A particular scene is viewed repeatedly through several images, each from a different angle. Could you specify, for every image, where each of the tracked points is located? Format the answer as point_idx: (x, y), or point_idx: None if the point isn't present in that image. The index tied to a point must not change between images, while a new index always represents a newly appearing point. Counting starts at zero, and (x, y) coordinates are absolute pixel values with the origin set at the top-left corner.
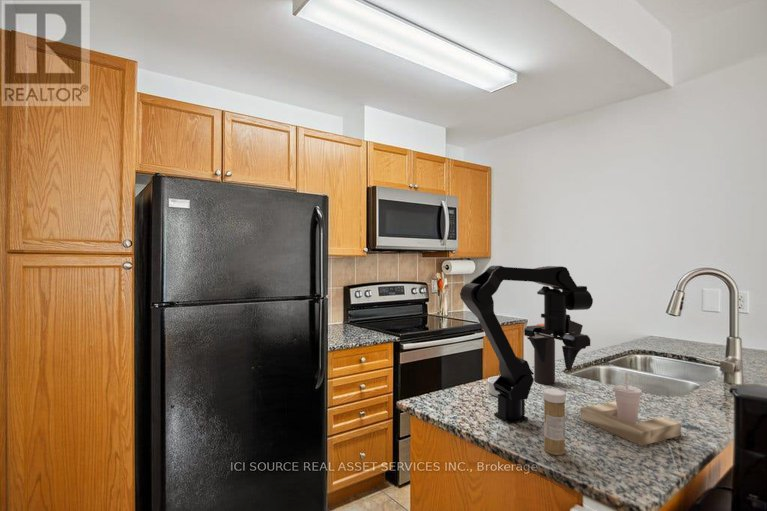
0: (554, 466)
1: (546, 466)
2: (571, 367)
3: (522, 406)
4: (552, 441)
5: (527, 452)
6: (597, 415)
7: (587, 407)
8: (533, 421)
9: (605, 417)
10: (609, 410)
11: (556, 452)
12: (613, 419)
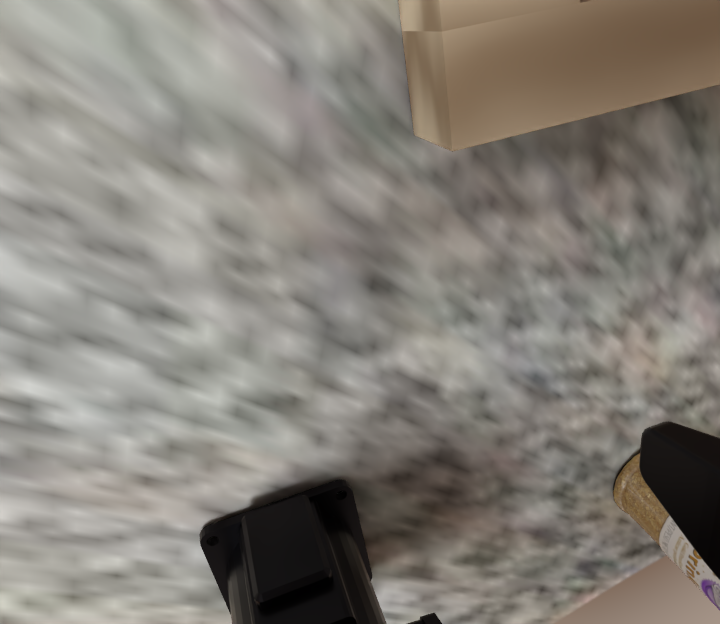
0: None
1: None
2: (717, 442)
3: (335, 557)
4: None
5: (609, 560)
6: (603, 110)
7: (460, 70)
8: (366, 453)
9: (663, 85)
10: None
11: None
12: (709, 48)
